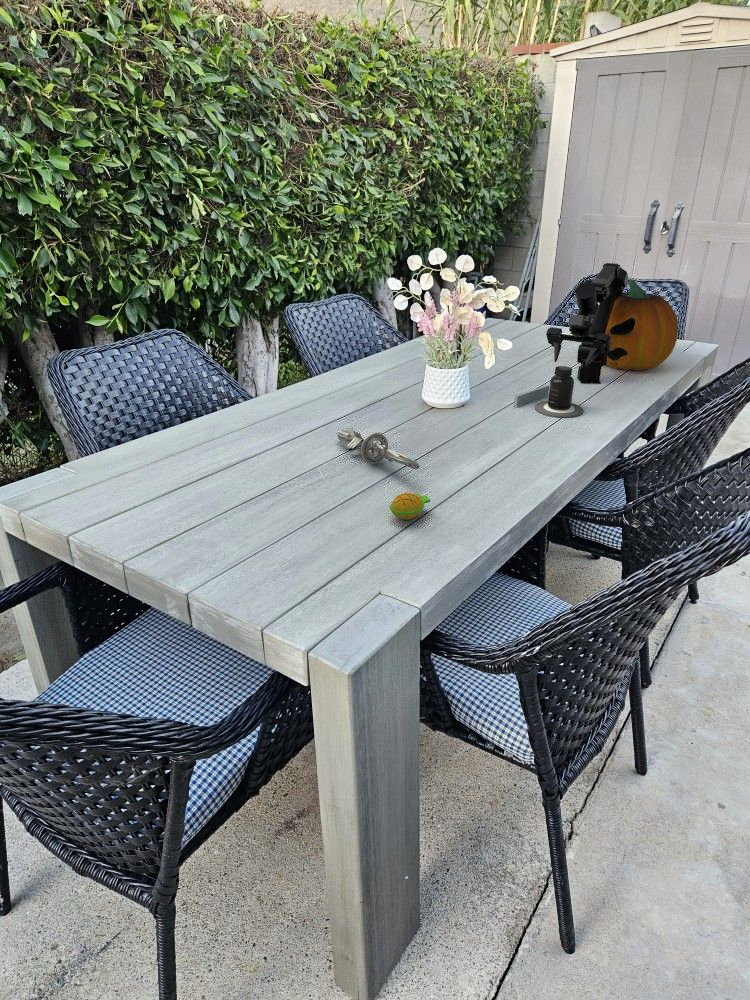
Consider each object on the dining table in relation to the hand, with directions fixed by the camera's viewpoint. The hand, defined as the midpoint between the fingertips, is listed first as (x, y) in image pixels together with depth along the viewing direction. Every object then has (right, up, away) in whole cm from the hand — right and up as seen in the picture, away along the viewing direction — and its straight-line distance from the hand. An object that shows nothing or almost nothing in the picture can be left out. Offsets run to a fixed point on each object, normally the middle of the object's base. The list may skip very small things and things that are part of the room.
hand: (570, 363), depth 203 cm
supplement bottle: (-3, -13, +1) cm, 14 cm away
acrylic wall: (-10, -10, +8) cm, 16 cm away
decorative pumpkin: (+33, +8, +45) cm, 56 cm away
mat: (-3, -14, +1) cm, 14 cm away
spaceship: (-58, -32, -35) cm, 75 cm away
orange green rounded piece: (-51, -44, -59) cm, 89 cm away
